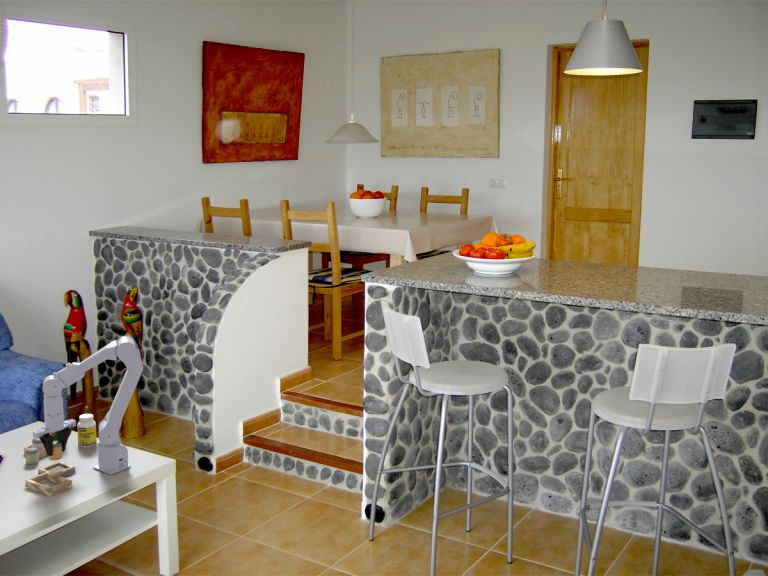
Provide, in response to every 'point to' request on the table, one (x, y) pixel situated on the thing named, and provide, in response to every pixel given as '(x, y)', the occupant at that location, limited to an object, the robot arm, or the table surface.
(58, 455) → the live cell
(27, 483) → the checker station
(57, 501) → the table surface
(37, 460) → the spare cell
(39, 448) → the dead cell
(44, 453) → the copper square frame
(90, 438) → the pill bottle
